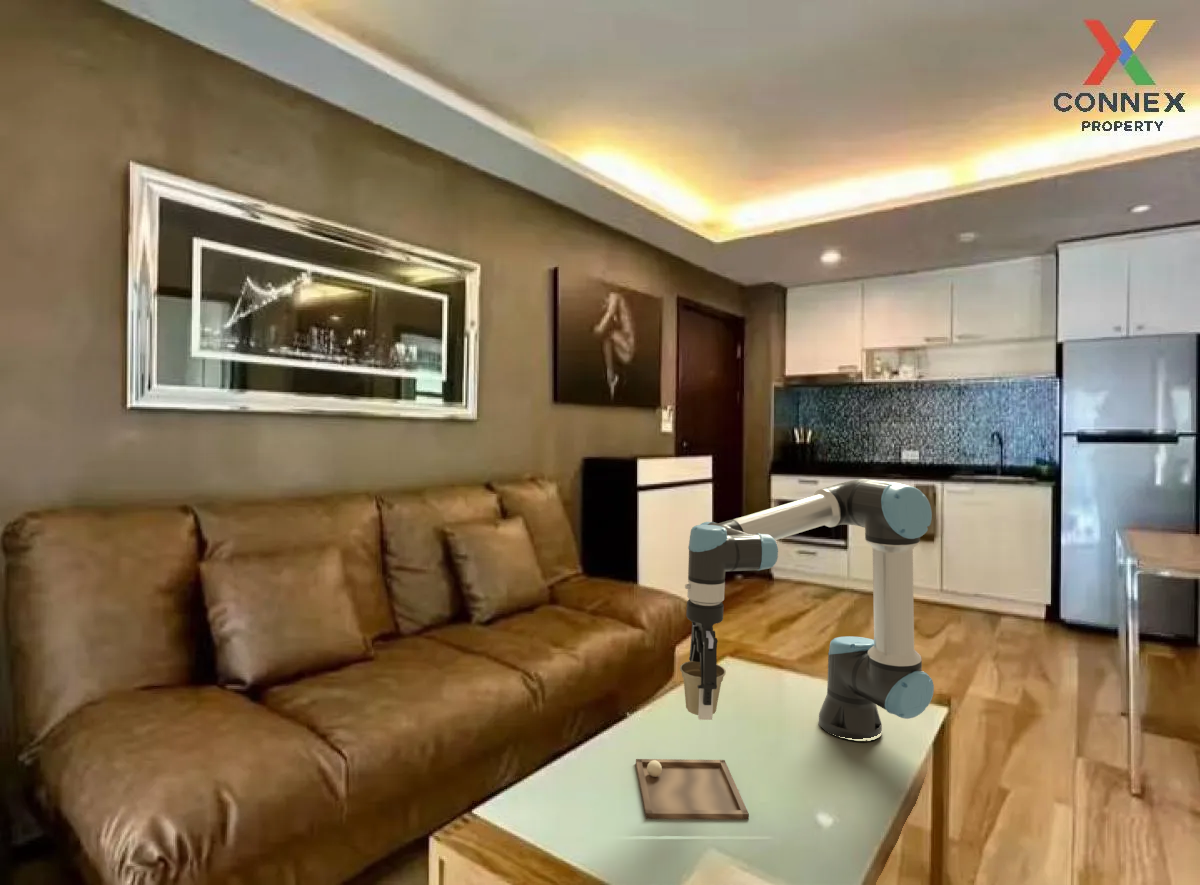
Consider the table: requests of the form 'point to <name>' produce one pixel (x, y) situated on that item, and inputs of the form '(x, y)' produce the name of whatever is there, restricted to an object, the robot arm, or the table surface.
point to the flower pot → (693, 679)
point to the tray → (690, 790)
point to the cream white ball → (654, 768)
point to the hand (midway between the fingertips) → (700, 708)
